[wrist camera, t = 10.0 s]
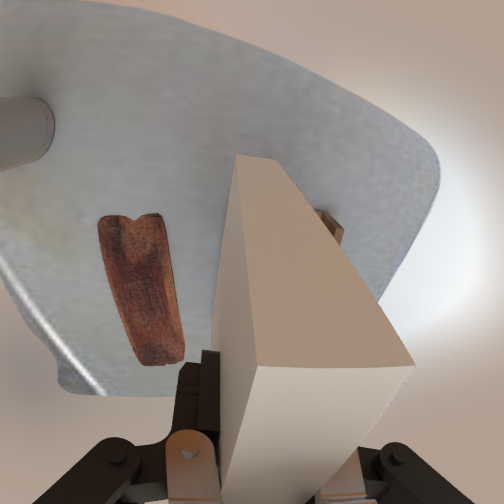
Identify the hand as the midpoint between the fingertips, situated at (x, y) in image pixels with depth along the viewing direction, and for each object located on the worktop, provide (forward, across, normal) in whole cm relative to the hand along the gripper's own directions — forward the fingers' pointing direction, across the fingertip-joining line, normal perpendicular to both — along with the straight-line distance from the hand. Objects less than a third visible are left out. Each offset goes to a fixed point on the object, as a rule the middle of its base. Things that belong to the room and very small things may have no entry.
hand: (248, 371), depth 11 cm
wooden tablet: (+32, +11, +18) cm, 38 cm away
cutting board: (+11, 0, -1) cm, 11 cm away
